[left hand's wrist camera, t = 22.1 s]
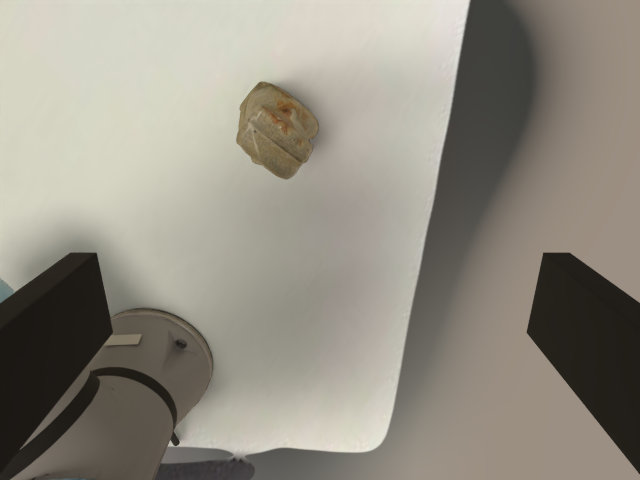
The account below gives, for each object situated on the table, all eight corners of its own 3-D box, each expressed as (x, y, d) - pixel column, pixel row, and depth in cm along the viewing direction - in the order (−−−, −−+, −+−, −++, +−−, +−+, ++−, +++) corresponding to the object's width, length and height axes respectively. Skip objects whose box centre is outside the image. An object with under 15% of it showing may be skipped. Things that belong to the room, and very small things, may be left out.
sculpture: (289, 162, 44) (274, 202, 30) (236, 112, 43) (195, 131, 29) (327, 120, 43) (331, 143, 29) (274, 67, 41) (251, 64, 27)
